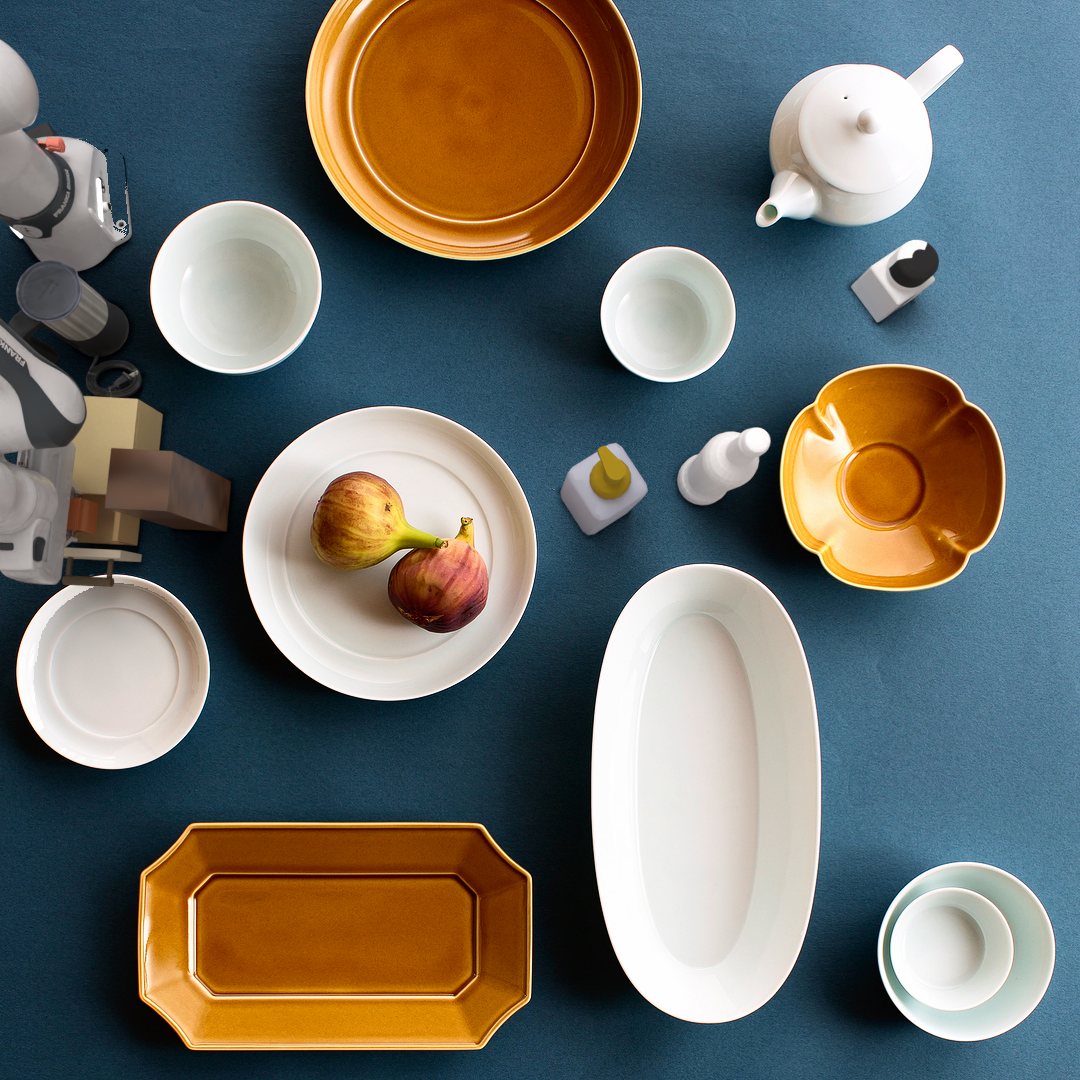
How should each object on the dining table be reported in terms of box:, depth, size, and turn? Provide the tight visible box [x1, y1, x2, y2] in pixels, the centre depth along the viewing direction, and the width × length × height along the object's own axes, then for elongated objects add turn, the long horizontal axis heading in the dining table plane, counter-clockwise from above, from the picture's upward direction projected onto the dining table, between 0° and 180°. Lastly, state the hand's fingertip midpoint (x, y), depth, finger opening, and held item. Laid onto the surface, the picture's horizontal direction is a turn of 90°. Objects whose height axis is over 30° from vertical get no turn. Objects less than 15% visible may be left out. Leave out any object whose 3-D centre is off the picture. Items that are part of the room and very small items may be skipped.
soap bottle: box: [559, 442, 649, 536], centre depth 115 cm, size 9×9×25 cm
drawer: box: [61, 494, 143, 588], centre depth 119 cm, size 18×11×7 cm, turn 177°
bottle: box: [676, 427, 771, 506], centre depth 114 cm, size 8×8×30 cm
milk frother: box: [7, 260, 143, 398], centre depth 119 cm, size 14×16×15 cm
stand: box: [105, 448, 232, 533], centre depth 114 cm, size 8×8×22 cm
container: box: [850, 239, 940, 323], centre depth 127 cm, size 8×8×13 cm
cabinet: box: [72, 395, 164, 495], centre depth 121 cm, size 15×13×9 cm
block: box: [67, 498, 99, 534], centre depth 113 cm, size 4×4×5 cm
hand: (75, 516), depth 114 cm, fingers closed on block, 4 cm apart
